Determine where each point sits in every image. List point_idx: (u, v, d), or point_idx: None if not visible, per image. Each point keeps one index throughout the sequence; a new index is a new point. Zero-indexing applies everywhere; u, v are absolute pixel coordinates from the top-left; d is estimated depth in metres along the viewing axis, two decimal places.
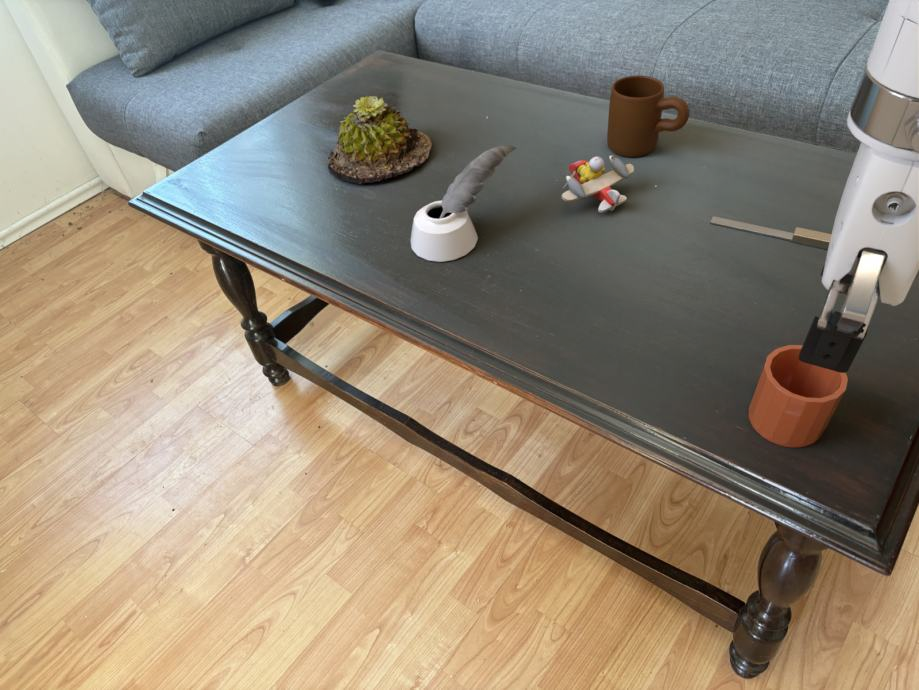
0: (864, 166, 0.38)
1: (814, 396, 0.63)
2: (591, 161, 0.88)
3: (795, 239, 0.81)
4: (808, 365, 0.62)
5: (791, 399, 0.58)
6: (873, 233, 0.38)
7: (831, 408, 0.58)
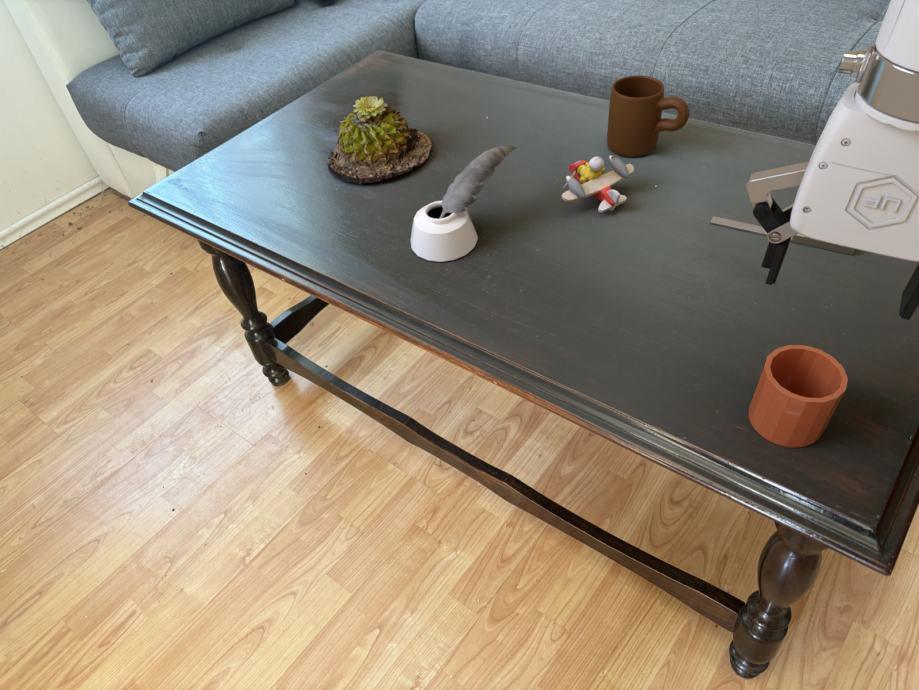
0: None
1: (814, 396, 0.63)
2: (591, 161, 0.88)
3: (795, 239, 0.81)
4: (808, 365, 0.62)
5: (791, 399, 0.58)
6: None
7: (831, 408, 0.58)
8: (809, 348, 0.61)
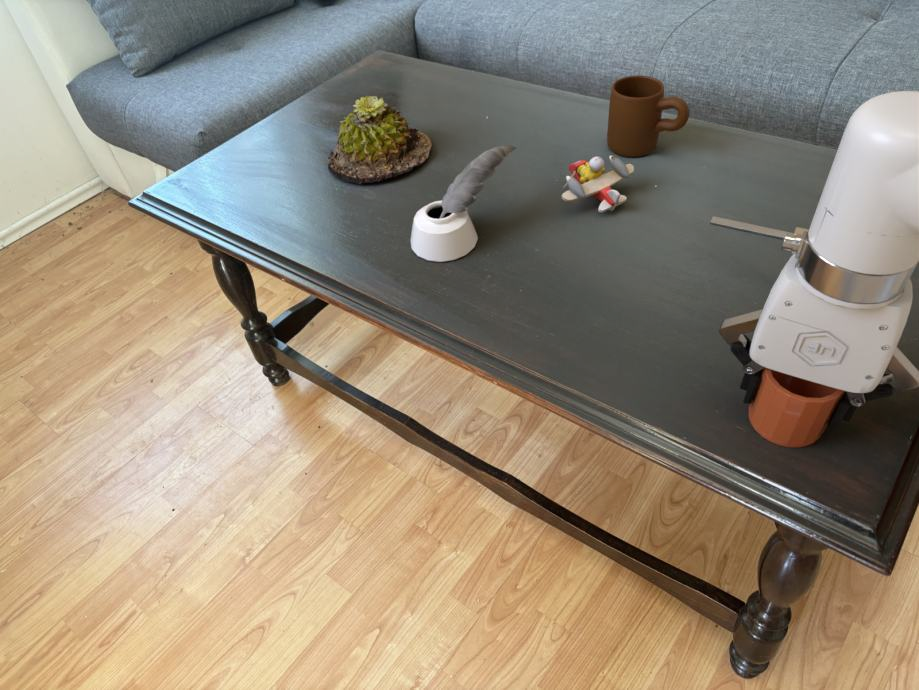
0: None
1: (814, 396, 0.63)
2: (591, 161, 0.88)
3: None
4: None
5: (791, 399, 0.58)
6: None
7: (831, 408, 0.58)
8: None
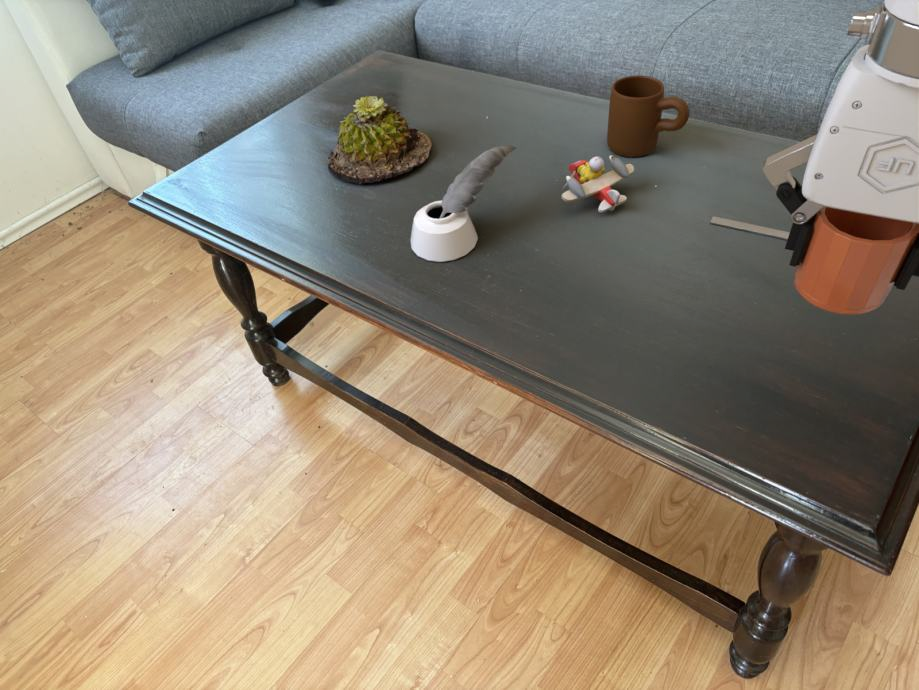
0: None
1: None
2: (591, 161, 0.88)
3: None
4: (867, 216, 0.52)
5: (853, 244, 0.47)
6: None
7: (901, 255, 0.48)
8: None
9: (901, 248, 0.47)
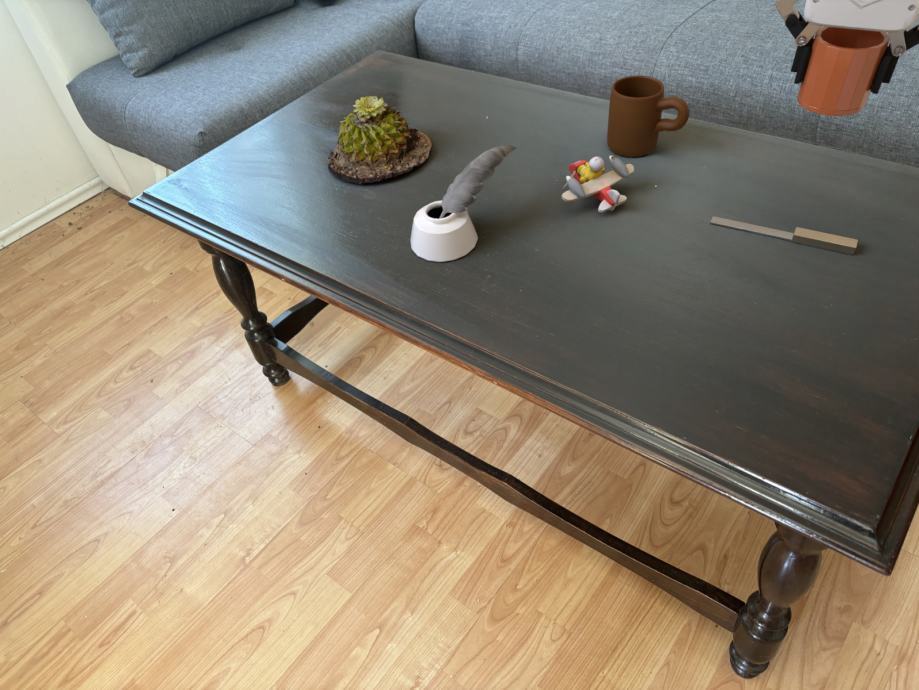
0: None
1: None
2: (591, 161, 0.88)
3: (795, 239, 0.81)
4: (852, 44, 0.70)
5: (840, 52, 0.66)
6: None
7: (875, 62, 0.66)
8: None
9: (875, 55, 0.66)
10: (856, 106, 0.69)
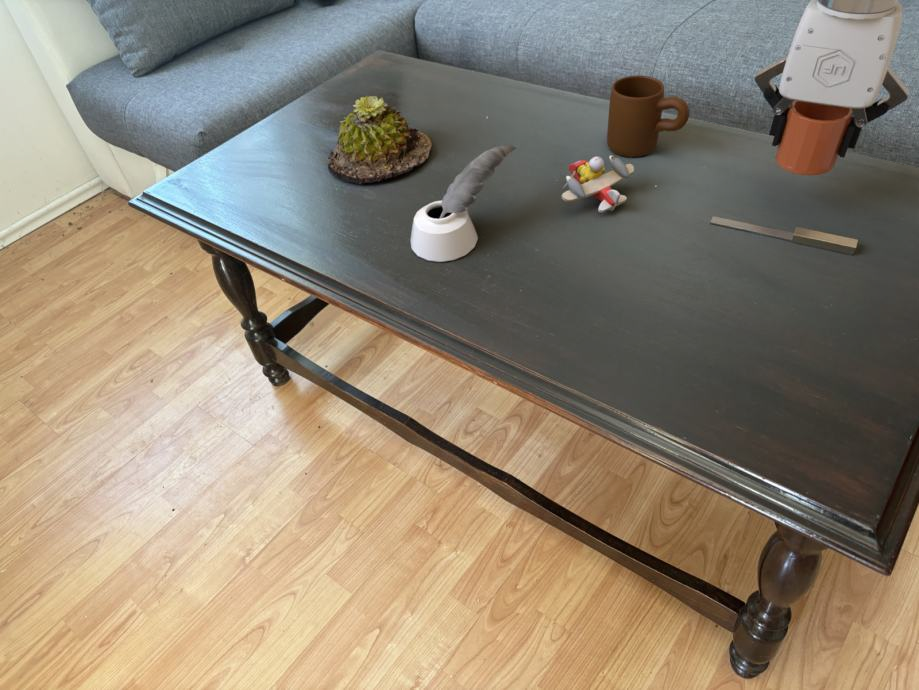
0: None
1: None
2: (591, 161, 0.88)
3: (795, 239, 0.81)
4: (823, 112, 0.80)
5: (811, 123, 0.76)
6: None
7: (841, 131, 0.76)
8: None
9: (840, 126, 0.75)
10: (826, 167, 0.79)
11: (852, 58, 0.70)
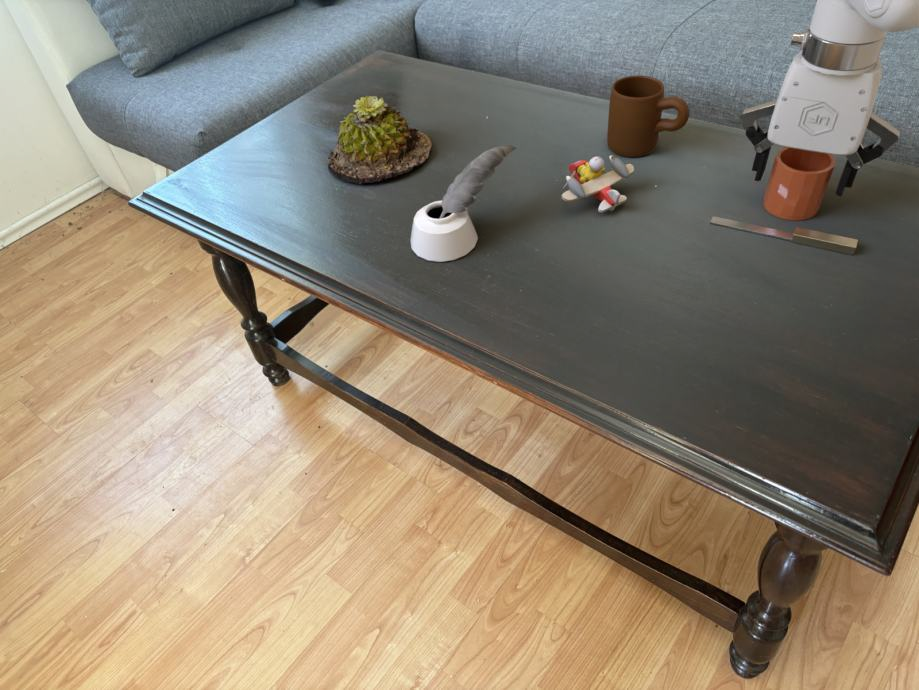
0: None
1: None
2: (591, 161, 0.88)
3: (795, 239, 0.81)
4: (807, 161, 0.85)
5: (795, 174, 0.80)
6: None
7: (824, 181, 0.81)
8: None
9: (823, 176, 0.80)
10: (810, 213, 0.84)
11: (835, 110, 0.74)
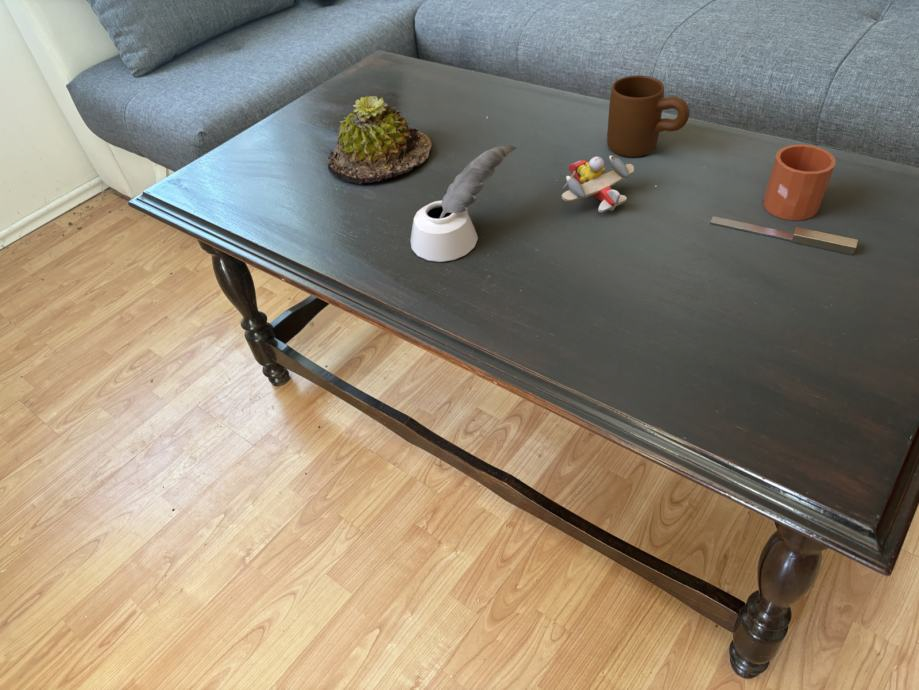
0: None
1: None
2: (591, 161, 0.88)
3: (795, 239, 0.81)
4: (807, 161, 0.85)
5: (795, 174, 0.80)
6: None
7: (824, 181, 0.81)
8: (808, 145, 0.84)
9: (823, 176, 0.80)
10: (810, 213, 0.84)
11: None
